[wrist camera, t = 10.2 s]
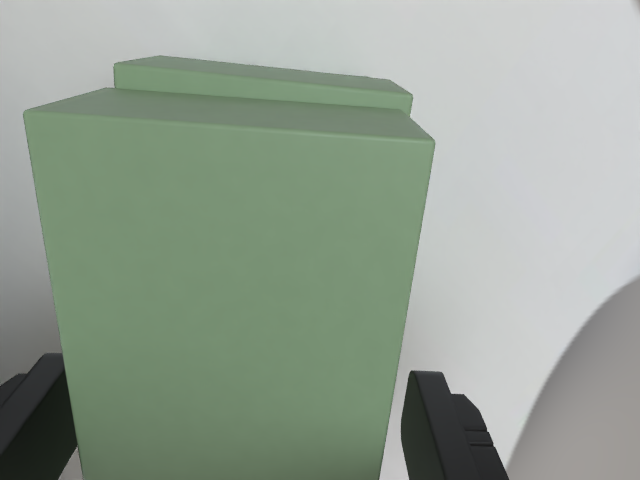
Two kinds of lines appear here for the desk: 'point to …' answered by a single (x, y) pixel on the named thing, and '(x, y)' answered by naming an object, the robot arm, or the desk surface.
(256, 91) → the green stack
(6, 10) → the desk surface
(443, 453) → the robot arm
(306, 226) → the sage block
